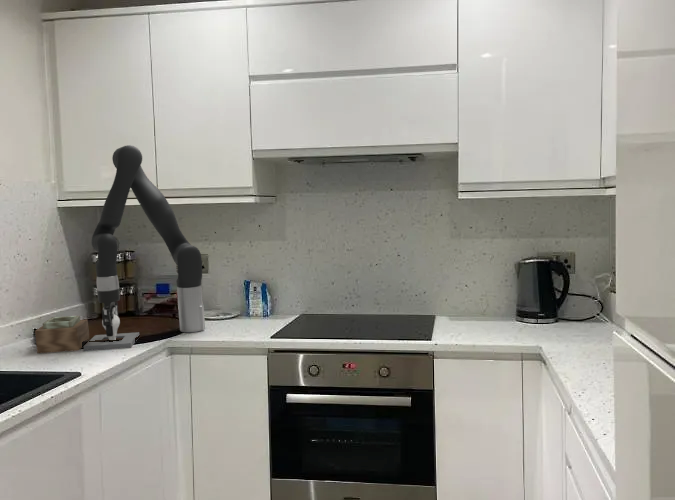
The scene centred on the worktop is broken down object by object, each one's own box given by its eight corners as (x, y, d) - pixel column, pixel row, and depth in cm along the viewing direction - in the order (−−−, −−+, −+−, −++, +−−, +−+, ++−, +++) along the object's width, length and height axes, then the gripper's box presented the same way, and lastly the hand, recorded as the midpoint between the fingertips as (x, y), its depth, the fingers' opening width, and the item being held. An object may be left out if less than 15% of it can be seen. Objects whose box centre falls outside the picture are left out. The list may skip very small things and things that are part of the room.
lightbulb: (100, 344, 235) (97, 314, 234) (113, 340, 240) (110, 311, 239) (112, 346, 232) (109, 316, 231) (125, 341, 237) (122, 312, 236)
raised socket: (89, 340, 242) (87, 314, 241) (78, 350, 228) (76, 322, 227) (50, 343, 241) (47, 316, 239) (37, 353, 227) (34, 325, 226)
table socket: (139, 336, 245) (139, 332, 245) (131, 347, 229) (130, 343, 229) (95, 339, 243) (95, 335, 243) (84, 350, 227) (83, 346, 227)
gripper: (114, 291, 227) (118, 338, 229) (123, 284, 241) (126, 328, 243) (92, 292, 226) (96, 339, 228) (102, 285, 240) (106, 330, 242)
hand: (112, 333), depth 236 cm, fingers closed on lightbulb, 5 cm apart
